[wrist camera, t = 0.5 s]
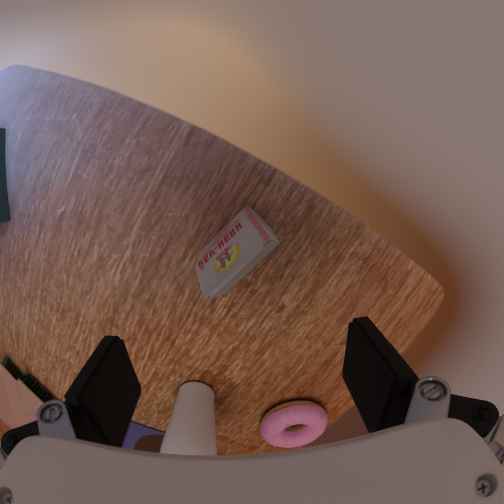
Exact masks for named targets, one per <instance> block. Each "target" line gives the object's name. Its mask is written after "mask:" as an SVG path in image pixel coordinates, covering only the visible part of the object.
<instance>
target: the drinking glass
mask: <svg viewBox="0 0 504 504" xmlns="http://www.w3.org/2000/svg"><path fill="white" fill-rule="evenodd" d="M159 453H166V454H180V455H207V456H218V453H217V438H216V424H215V394H214V392H213V390H212V389H211V388H210V387H209V386H208V385H206V384H204V383H201V382H187V383H185V384H183V385H182V386H181V387H180V388H179V390H178V394H177V399H176V402H175V405H174V408H173V411H172V414H171V417H170V420H169V423H168V426H167V429H166V432H165V434H164V438H163V441H162V444H161V448H160V452H159Z"/></svg>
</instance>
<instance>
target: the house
mask: <svg viewBox="0 0 504 504" xmlns="http://www.w3.org/2000/svg"><path fill="white" fill-rule="evenodd" d="M9 359H10V358H9ZM7 360H8V357H7V358H6V359H5V360H4V361H3V363H2V364H1V363H0V418H1V419H2V420H3V422H4V423H6V424H7V425H8V426H10V427H11V428H12V429H14V428H17V427H20V426H22V425H25V424H28V423H30V422H33V421H35V420H37V411H38V408H39V407H40V406H41V405H42V404H43V403H45V402H46V401H45V402H44V399H45V398H46V396H47V394H48V392H47V391H46V390H45V389H44V388H43V387H42V386H41V388H43V389H44V391H46V392H47V394H46V396H45V397H43V396H42V395H41V394H40V393H39V392H38V391H37V392H38V393H39V394H40V395H41V396H42V397H43V398H44V399H43V400H41V399H40V397H38V396H37V394H35V393H34V392H33V391H32V390H31V389H30V388H29V387H28V386H27V385H26V383H24V382H25V380H26V378H27V376H28V375H29V374H28V375H27V376H26V375H25V374H24V373H23V372H22V371H21V370H20V369H19V368H18V369H19V370H20V372H22V373H23V374H24V375H25V376H26V377H25V379H24V380H23V381H22V380H21V379H19V378H18V380H16V379H15V378H16V377H17V376H16V377H15V378H14V377H13V376H12V375H11V374H10V373H9V371H8V370H7V369H8V368H10V367H8V368H7V369H6V368H5V365H6V364H7V363H8V362H9V361H8V362H7ZM10 360H11V359H10ZM11 361H12V360H11ZM6 362H7V363H6ZM12 362H13V361H12ZM15 366H16V365H15ZM15 366H14V367H15ZM14 367H13V368H14ZM10 369H11V368H10ZM12 371H13V370H12ZM13 372H14V371H13ZM15 372H16V371H15ZM15 372H14V373H15ZM22 376H23V375H22ZM22 376H21V377H22ZM29 379H30V378H29ZM29 379H28V380H29ZM31 381H32V380H31ZM27 382H28V381H27ZM28 383H29V382H28ZM34 384H35V383H34ZM34 384H33V385H34ZM28 385H29V384H28ZM32 387H33V386H32ZM32 387H31V388H32ZM33 388H34V387H33ZM36 388H37V387H36ZM34 389H35V388H34ZM34 391H35V390H34ZM39 391H40V390H39ZM42 394H43V393H42ZM48 398H49V397H48ZM48 398H47V399H48ZM49 399H50V398H49ZM50 400H51V399H50Z"/></svg>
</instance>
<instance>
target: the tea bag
mask: <svg viewBox="0 0 504 504" xmlns="http://www.w3.org/2000/svg"><path fill="white" fill-rule="evenodd" d="M279 244H280V241H279V240H278V238H277V237H276V235H275V233H274V232H273V230H272V229H271V228H270V227H269V225H268V224H267V223H266V222H265V221H264V220H263V219H262V218H261V217H260V216H259V215H258V214H257V213H256V212H255V211H254V210H253V209H252V208H251V207H250V206H249V205H248V204H247V205H246V206H245V207H244V208H243V209H242V210H241V211H240V212H239V213H238V214H237V215H236V216H235V217H234V218H233V219H232V220H231V221H230V222H229V223H227V224H226V225H225V226H224V227H223V228H222V229H221V230H220V231H219V232H218V233H217V234H216V235H215V236H214V237H213V238H212V239H211V240H210V241H209V242H208V243H207V244H206V245H205V246H204V247H203V248H202V251H201V253H200V255H199V258H198V260H197V262H196V265H195V270H196V273H197V277H198V280H199V283H200V286H201V291H202V297H203V299H205V298H206V297H208V296H210V297H209V299H208V300H207V302H208V301H209V300H210V299H212V298H214V297H217V296H221V295H224V294H226V293H227V292H228V291H229V290H230V289H231V288H232V287H233V286H235V285H236V284H237V283H238V282H239V281H240V280H241V279H242V278H243V277H244V276H245V275H246V274H248V273H249V272H250V271H251V270H252V269H253V268H254V267H255V266H256V265H257V264H258V263H259V262H261V261H262V260H263V259H264V258H265V257H266V256H267V255H268V254H269V253H270V252H271V251H272V250H273V249H275V248H276V247H277V246H278V245H279ZM207 302H206V303H207Z"/></svg>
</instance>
